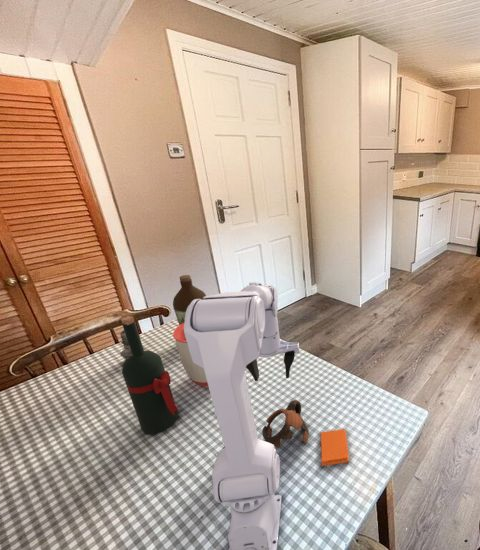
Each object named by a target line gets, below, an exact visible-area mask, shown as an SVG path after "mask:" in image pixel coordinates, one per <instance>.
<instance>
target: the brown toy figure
mask: <svg viewBox="0 0 480 550" xmlns="http://www.w3.org/2000/svg"><path fill="white" fill-rule="evenodd" d="M282 414H283V415H284V417H285V420H284V424H283V426H282V427H281V429H280V430H279V431H278V432H277V433H276V434H275V435H273V428H272V427H271V424H272V423H273V422H274V420H275V419H276V418H277V417H278V416H280V415H282ZM301 414H302V404H301V402H300V401H299V400H298V399H292V400H290V401H289V403H288V405H287V406H286V408H285V409H284V408H280V409H277V410H275V411H273V412H272V413H271V414H269V416H268V417H267V419H266V423H267V425H264V426H263V428H262V431H261V434H262V435H261V436H262V438H263V439H264V441H266V442H268V443H271V444H273V445H274V448H278V449H282V445H281V444H282V441H291V440H293V438H294V437H295V436H294V435H293V433H292V430H291V428H294V429H295V430H297V431H298V430H302V431H303V432H302V436H301V438H300V439H301V441H302V442H303V443H304V444H305V445H306V444H307V443H308V440H309V437H310V430H309V428H308V426H307V424H306V423H305V420H304V419H303V417H302V416H301ZM272 435H273V436H272ZM281 440H282V441H281Z"/></svg>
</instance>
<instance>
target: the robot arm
mask: <svg viewBox="0 0 480 550" xmlns="http://www.w3.org/2000/svg"><path fill="white" fill-rule="evenodd" d="M278 295H279V294H278V290H277V286H273V285H272V284H263V283H261V282H257V281H255V282H249V283H248V285H246V286H245V287H243V288H242V289H241V290H240V291H226V292H220V293H215V294H209V295H206V296H205V297H203V300H201V299H195V300H193V301H192V302H191V303H190V305H189V306H188V308H187V310H186V314H185V322H184V334H185V337H186V341H187V345H188V348H189V352H190V354H191V357H192V361H193V363H195V364H197V365H199V366H200V367H202V368H204V371H205V375H206V379H207V383H208V386H207V387H208V390H209V394H210V398H211V402H212V405H213V409H214V413H215V417H216V420H217V424H218V427H219V431H220V435H221V440H222V444H223V448H224V447H225V448H224V449H223V448H222V449H221V450H220V451H219V452H218V454H217V456H216V458H215V461H214V464H213V468H212V472H211V478H212V496H213V498H214V500H215V502H216V503H217V504H220V503H223V502H224V506H225V507H229V508H230V526H229V530H228V535H227V540H228V545H229V547H228V550H278V541H279V531H280V530H279V529H280V520H281V510H282V509H281V507H282V498H283V497H282V495H281V494H276V492H278V489H279V486H280V477H281V461H280V460H281V459H280V455H279V454H278V453H277V449H276V447H274V445H273V444H271V443H268V442H266V441H265V440H262V439H260V438H259V437H258V431H257V427H256V421H255V416H254V411H253V405H252V401H251V395H250V390H249V385H248V380H247V375H246V369H247V370H248V372H249V373H250V374H251V376H252V378H253V379H254V382H259V378H260V371H259V365H258V358H271V357H274V356H277V355H278V356H279V355H282V354H284V355H283V363H284V369H285V378H286V379H289V378H290V374H291V373H290V371H291V368H292V365H293V363H294V361H295V358H296V357H295V355H296V354H299V353H300V343H299V342H292V341H283V340H281V337H280V328H279V320H278V312H279V309H278V308H279V307H278V299H279V297H278Z"/></svg>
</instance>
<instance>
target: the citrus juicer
mask: <svg viewBox="0 0 480 550" xmlns="http://www.w3.org/2000/svg"><path fill="white" fill-rule="evenodd" d="M172 337H173V339H174V340H175V343H176V349H177V351H178V355H179V359H180V362H181V365H182V367H183V369H184V372H185V373H186V374H187V376H188V378H189V379H190V380H191V381H192V382H193V383H195V385H197V386H199V387H208V383H207V379H206V375H205V371H204V368H202V367H200V366H199V365H197V364H195V363H193V361H192V357H191V354H190V352H189V348H188V345H187V341H186V337H185V334H184V323H182V324H181V325H179V324H178V326H176V328H175V329H174V331H173V333H172Z"/></svg>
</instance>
